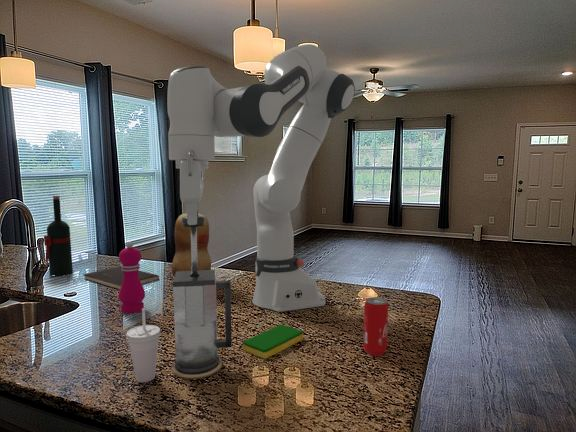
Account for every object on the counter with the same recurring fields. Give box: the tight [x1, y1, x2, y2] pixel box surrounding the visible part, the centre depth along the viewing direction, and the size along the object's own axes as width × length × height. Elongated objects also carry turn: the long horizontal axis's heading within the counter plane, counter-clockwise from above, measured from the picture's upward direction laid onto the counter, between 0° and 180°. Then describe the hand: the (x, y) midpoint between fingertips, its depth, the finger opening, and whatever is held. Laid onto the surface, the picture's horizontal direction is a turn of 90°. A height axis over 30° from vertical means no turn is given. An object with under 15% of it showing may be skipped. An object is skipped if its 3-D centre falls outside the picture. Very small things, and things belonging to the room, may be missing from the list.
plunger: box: [182, 216, 205, 277], centre depth 85 cm, size 6×6×14 cm
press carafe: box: [171, 269, 233, 380], centre depth 87 cm, size 12×10×20 cm
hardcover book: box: [82, 265, 160, 290], centre depth 153 cm, size 16×23×2 cm
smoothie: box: [125, 307, 162, 383], centre depth 82 cm, size 6×6×14 cm
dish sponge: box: [242, 324, 304, 360], centre depth 99 cm, size 7×14×2 cm, turn 140°
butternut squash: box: [171, 212, 212, 277], centre depth 147 cm, size 14×13×25 cm
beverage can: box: [363, 296, 389, 357], centre depth 94 cm, size 5×5×12 cm
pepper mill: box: [118, 241, 146, 315], centre depth 120 cm, size 7×7×20 cm
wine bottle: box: [43, 195, 74, 277], centre depth 158 cm, size 8×10×30 cm
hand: (193, 221), depth 84 cm, fingers open, 8 cm apart
